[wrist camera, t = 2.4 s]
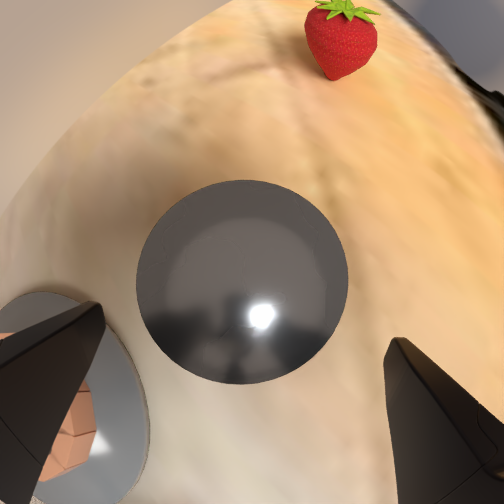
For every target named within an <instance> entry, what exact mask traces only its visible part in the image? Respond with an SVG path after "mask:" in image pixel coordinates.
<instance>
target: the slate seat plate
mask: <svg viewBox="0 0 504 504" xmlns="http://www.w3.org/2000/svg"><path fill="white" fill-rule="evenodd" d="M78 305H81V303H79V302H77V301H75V300H72V299H70V298H68V297H66V296H63V295H59V294H56V293H51V292H33V293H29V294H25V295H23V296H20V297H18V298H16V299H14V300H13V301H11V302H10V303H8V304H7V305H6V306H5V307H4V308H3V309H2V310H1V311H0V339H4V338H5V337H7V336H9V335H12V334H14V333H16V332H19V331H21V330H23V329H25V328H28V327H30V326H32V325H34V324H37V323H39V322H41V321H44V320H46V319H48V318H51V317H53V316H55V315H57V314H60V313H62V312H64V311H67V310H69V309H71V308H74V307H76V306H78ZM149 444H150V422H149V412H148V406H147V402H146V397H145V393H144V390H143V386H142V383H141V380H140V377H139V375H138V372H137V370H136V368H135V365H134V363H133V361H132V359H131V357H130V355H129V354H128V352H127V350H126V348H125V346H124V345H123V344H122V342H121V341H120V339H119V338H118V336H117V335H116V334H115V332H114V331H113V330H112V329H111V328H110V327H109V325H108V324H107V323H106V330H105V333H104V335H103V337H102V340H101V342H100V345H99V347H98V349H97V352H96V354H95V357H94V359H93V362H92V364H91V367H90V369H89V371H88V373H87V375H86V377H85V379H84V380H83V382H82V384H81V386H80V388H79V390H78V392H77V394H76V396H75V398H74V400H73V402H72V404H71V407H70V409H69V411H68V413H67V415H66V417H65V419H64V421H63V423H62V426H61V428H60V430H59V432H58V434H57V437H56V439H55V441H54V443H53V446H52V448H51V450H50V452H49V455H48V457H47V460H46V462H45V464H44V466H43V470H42V472H41V475H40V477H39V480H38V482H37V485H36V487H35V490H34V493H33V496H35V497H36V498H38V499H39V500H41V501H42V502H44V503H46V504H116V503H117V502H119V501H120V500H121V499H122V498H124V497H125V496H126V495H127V494H128V493H129V492H130V491H131V490H132V489H133V487H134V486H135V485H136V483H137V482H138V480H139V478H140V476H141V474H142V472H143V470H144V467H145V464H146V460H147V457H148V451H149Z"/></svg>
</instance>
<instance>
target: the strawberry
mask: <svg viewBox="0 0 504 504" xmlns="http://www.w3.org/2000/svg"><path fill="white" fill-rule="evenodd" d="M331 1H332V2H326V1H315V2H316V3H320V4H321V5H318V6H316V7H315V8H313V9H312V10H310V11H309V12H308V15H307V18H306V21H305V25H304V27H305V32H306V37H307V41H308V45H309V48H310V49H311V51H312V53H313V55H314V57H315V59H316V61H317V62H318V64H319V65H320V67H321V68H322V69H323V71H324V73H325V75H326V76H327V77H328V78H329V79H330V80H338V79H340V78H341V77H344V76H346V75H349V74H351V73H353V72H354V71H356V70H357V69H359V68H361V67H362V66H364V65H365V64H366V63H367V62H368V61H369V59H370V58H371V56H372V55H373V53H374V52H375V50H376V48H377V31H376V29H375V27H374V26H373V24H374V23H373V22H372V20H371V19H370V18H369V17H368V16H367V15H366V14H365V13H368V14H375V15H381V14H379V13H377V12H374V11H372V10H369V9H367V8H364V7H358V8H354V5H353V3H352V2H351V0H346V1H342V0H331ZM352 8H354V9H352ZM374 25H375V24H374Z"/></svg>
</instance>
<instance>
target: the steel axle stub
mask: <svg viewBox="0 0 504 504" xmlns="http://www.w3.org/2000/svg"><path fill="white" fill-rule="evenodd" d="M136 291H137V300H138V305H139V309H140V313H141V316H142V318H143V321H144V323H145V326H146V328H147V330H148V331H149V333H150V335H151V337H152V338H153V340H154V341H155V342H156V344H157V345H158V346H159V347H160V349H161V350H162V351H163V352H164V353H165V354H166V355H167V356H168V357H169V358H170V359H171V360H172V361H174V362H175V363H177V364H178V365H179V366H181V367H182V368H184V369H185V370H187V371H189V372H191V373H193V374H195V375H197V376H200V377H202V378H205V379H208V380H211V381H216V382H221V383H226V384H254V383H260V382H265V381H269V380H273V379H275V378H278V377H281V376H283V375H286V374H288V373H290V372H292V371H293V370H295V369H297V368H299V367H300V366H302V365H303V364H305V363H306V362H307V361H308V360H310V359H311V358H312V357H313V356H314V355H315V354H316V353H317V352H318V351H319V350H320V349H321V348H322V347H323V346H324V345H325V344H326V342H327V341H328V340H329V338H330V337H331V336H332V334H333V332H334V330H335V329H336V327H337V325H338V323H339V321H340V318H341V316H342V313H343V310H344V307H345V302H346V298H347V291H348V268H347V262H346V257H345V253H344V250H343V247H342V245H341V242H340V240H339V238H338V236H337V234H336V232H335V230H334V228H333V227H332V226H331V224H330V223H329V221H328V220H327V219H326V217H325V216H324V215H323V214H322V213H321V212H320V211H319V210H318V209H317V208H316V207H315V206H314V205H313V204H311V203H310V202H309V201H308V200H306V199H305V198H303V197H302V196H300V195H299V194H297V193H295V192H293V191H291V190H289V189H287V188H284V187H281V186H278V185H276V184H271V183H267V182H262V181H254V180H235V181H226V182H222V183H217V184H213V185H210V186H207V187H205V188H202V189H200V190H198V191H196V192H193V193H191V194H190V195H188V196H186V197H185V198H183V199H182V200H180V201H179V202H178V203H176V204H175V205H174V206H173V207H171V208H170V209H169V210H168V211H167V212H166V213H165V214H164V215H163V216H162V217H161V219H160V220H159V221H158V223H157V224H156V225H155V227H154V228H153V230H152V231H151V233H150V235H149V236H148V238H147V240H146V242H145V245H144V247H143V249H142V252H141V256H140V259H139V263H138V269H137V277H136Z"/></svg>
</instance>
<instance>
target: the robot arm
mask: <svg viewBox="0 0 504 504" xmlns="http://www.w3.org/2000/svg"><path fill="white" fill-rule="evenodd" d="M105 330H106V321H105V317H104V313H103V309H102V306H101V304H100V303H97V302H93V301H88V302H85V303H83V304H81V305H78V306H76V307H74V308H71V309H69V310H67V311H64V312H62V313H60V314H57V315H55V316H53V317H51V318H48V319H46V320H44V321H41V322H39V323H37V324H34V325H32V326H30V327H28V328H25V329H23V330H21V331H19V332H16V333H14V334H12V335H9V336H7V337H5V338H4V339H0V500H1V501H3V502H4V503H5V504H29V503H30V501H31V498H32V495H33V493H34V490H35V487H36V485H37V482H38V480H39V477H40V475H41V472H42V470H43V466H44V464H45V462H46V460H47V457H48V455H49V452H50V450H51V448H52V446H53V443H54V441H55V439H56V437H57V434H58V432H59V430H60V428H61V426H62V423H63V421H64V419H65V417H66V415H67V413H68V411H69V409H70V407H71V404H72V402H73V400H74V398H75V396H76V394H77V392H78V390H79V388H80V386H81V384H82V382H83V380H84V379H85V377H86V375H87V373H88V371H89V369H90V367H91V364H92V362H93V359H94V357H95V354H96V352H97V349H98V347H99V345H100V342H101V340H102V337H103V335H104V333H105ZM383 367H384V379H385V395H386V408H387V415H388V421H389V428H390V434H391V441H392V448H393V456H394V464H395V473H396V483H397V494H398V504H504V424H503V423H502V422H501V421H499V420H498V419H497V418H496V417H495V416H494V415H492V414H491V413H490V412H489V411H488V410H487V409H486V408H485V407H484V406H482V405H481V404H480V403H479V402H478V401H477V400H476V399H475V398H474V397H473V396H471V395H470V394H469V393H468V392H467V391H466V390H465V389H464V388H463V387H461V386H460V385H459V384H458V383H457V382H456V381H455V380H454V379H453V378H451V377H450V376H449V375H448V374H447V373H446V372H445V371H444V370H442V369H441V368H440V367H439V366H438V365H437V364H436V363H434V362H433V361H432V360H431V359H430V358H429V357H428V356H426V355H425V354H424V353H423V352H422V351H421V350H420V349H418V348H417V347H416V346H415V345H414V344H413V343H411V342H410V341H409V340H408V339H407V338H404V337H394V338H393V339H392V340H391V342H390V345H389V347H388V350H387V352H386V355H385V357H384V362H383Z"/></svg>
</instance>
